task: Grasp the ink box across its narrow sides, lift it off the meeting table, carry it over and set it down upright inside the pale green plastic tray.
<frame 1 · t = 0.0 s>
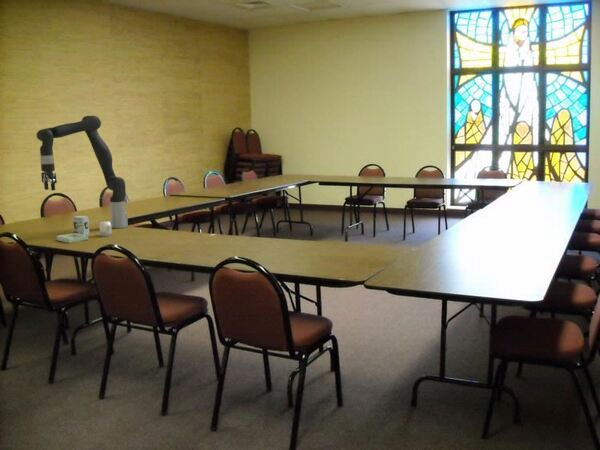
hand: (49, 190, 391), 29 cm above the table, fingers open, 8 cm apart
mug: (105, 235, 400), on the table
tray: (72, 240, 386), on the table
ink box: (81, 235, 402), on the table
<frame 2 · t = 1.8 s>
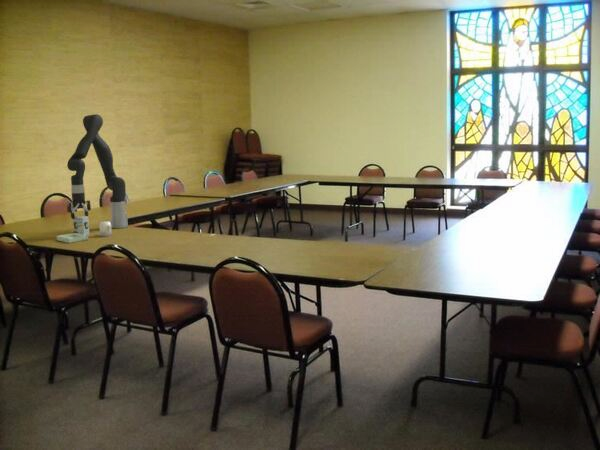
hand: (79, 218, 400), 11 cm above the table, fingers open, 8 cm apart
nothing on the table moved.
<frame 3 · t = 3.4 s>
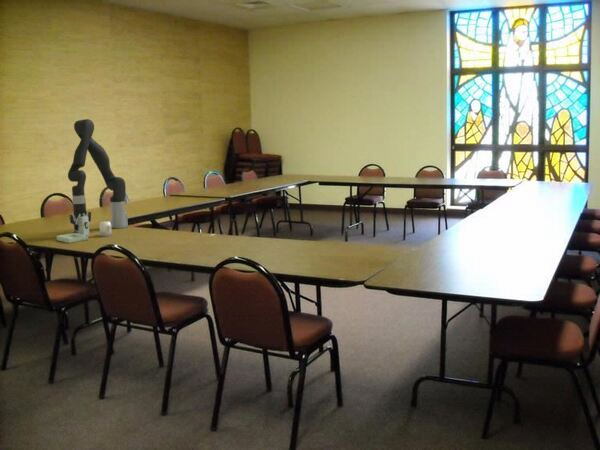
hand: (81, 229, 402), 4 cm above the table, fingers closed on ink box, 5 cm apart
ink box: (81, 235, 402), on the table, touching gripper
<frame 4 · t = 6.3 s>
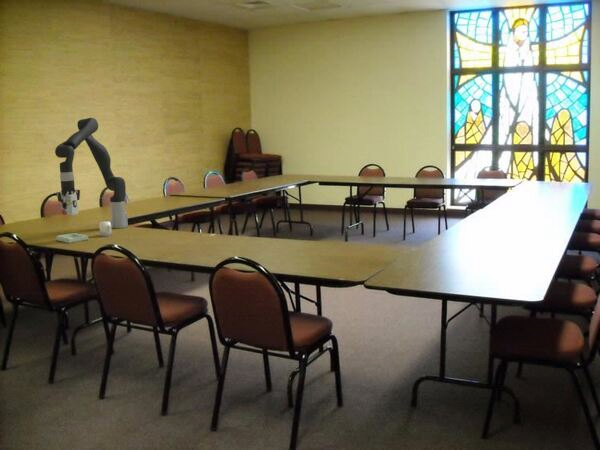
hand: (69, 208, 383), 19 cm above the table, fingers closed on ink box, 5 cm apart
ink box: (70, 214, 384), point 15 cm above the table, touching gripper
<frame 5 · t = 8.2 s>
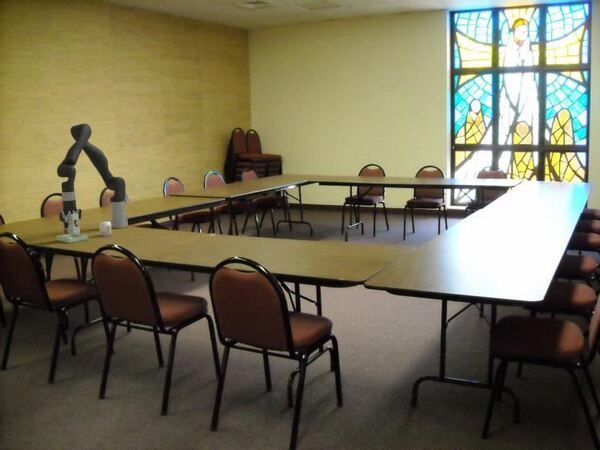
hand: (71, 227, 385), 8 cm above the table, fingers closed on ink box, 5 cm apart
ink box: (71, 233, 386), point 4 cm above the table, touching gripper
when the fingers open (6 cm above the table, at t = 9.6 s): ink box drops 1 cm, resting on tray.
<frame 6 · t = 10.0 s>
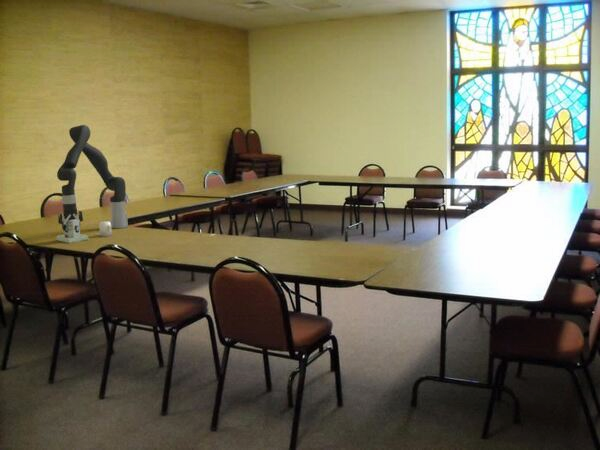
hand: (71, 229, 385), 6 cm above the table, fingers open, 8 cm apart
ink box: (72, 239, 386), resting on tray
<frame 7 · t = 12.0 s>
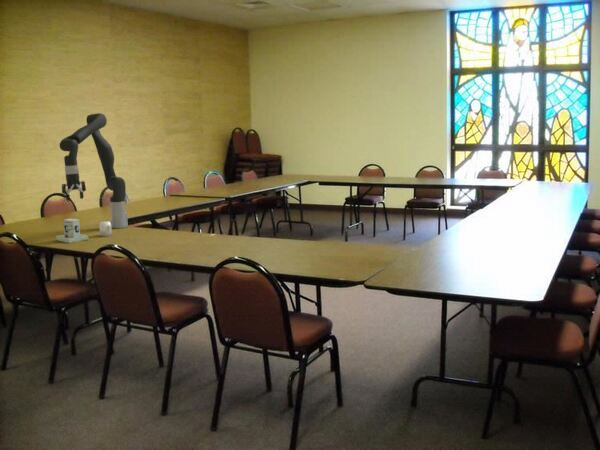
hand: (75, 199, 391), 23 cm above the table, fingers open, 8 cm apart
nothing on the table moved.
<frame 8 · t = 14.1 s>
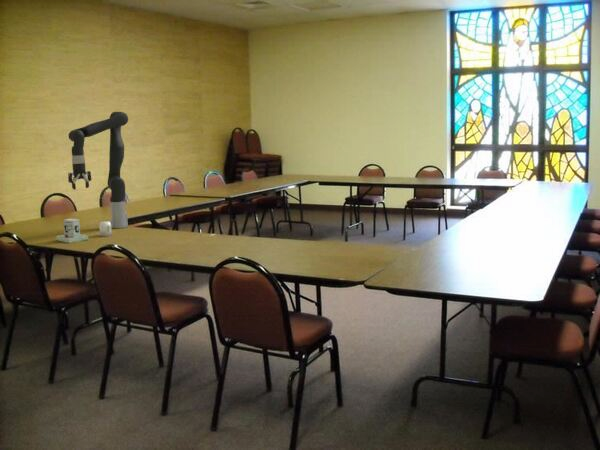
hand: (80, 188, 405), 28 cm above the table, fingers open, 8 cm apart
nothing on the table moved.
at the end: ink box inside the target area on the tray (0.3 cm from its centre), point 0.4 cm above the tray's base; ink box tilted 0°; the gripper is holding nothing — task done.
